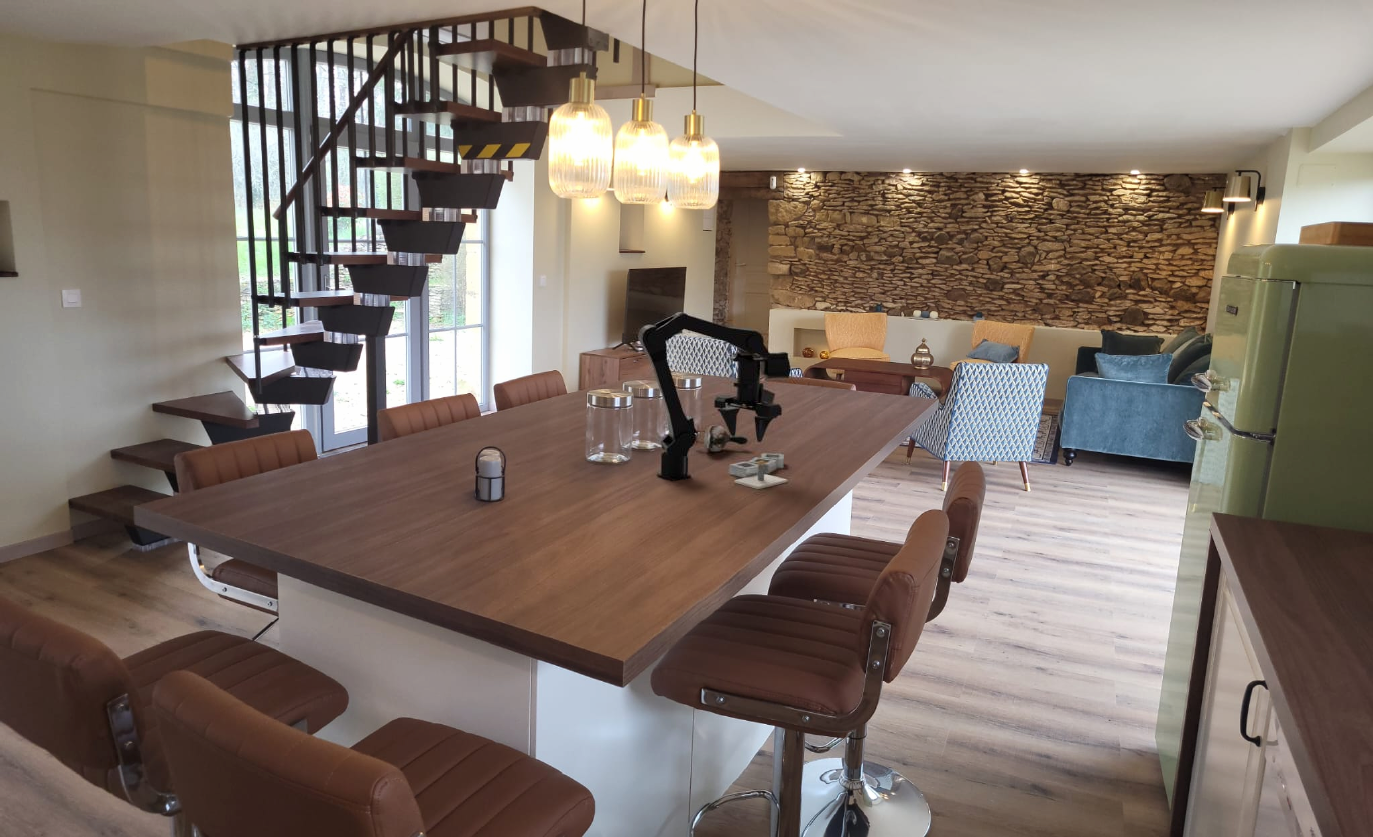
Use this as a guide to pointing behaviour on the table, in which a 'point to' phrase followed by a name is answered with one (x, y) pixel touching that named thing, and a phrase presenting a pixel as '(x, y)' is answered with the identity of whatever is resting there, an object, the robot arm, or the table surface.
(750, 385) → the robot arm
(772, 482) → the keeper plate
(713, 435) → the decorative duck model
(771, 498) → the table surface
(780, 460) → the grey square frame
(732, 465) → the end link
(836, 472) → the table surface
